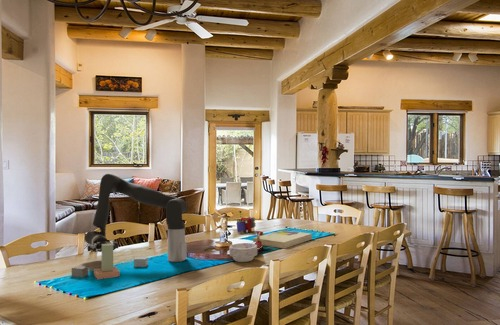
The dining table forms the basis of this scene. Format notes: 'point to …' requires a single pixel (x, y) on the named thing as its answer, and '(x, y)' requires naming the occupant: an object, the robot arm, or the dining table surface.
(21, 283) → the dining table surface
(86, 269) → the grey rectangular block
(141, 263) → the light gray block
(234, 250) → the paper bowls
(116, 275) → the terracotta base brick
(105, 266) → the sage tower brick
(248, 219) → the robot toy
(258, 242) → the toy fire truck
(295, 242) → the puzzle box
